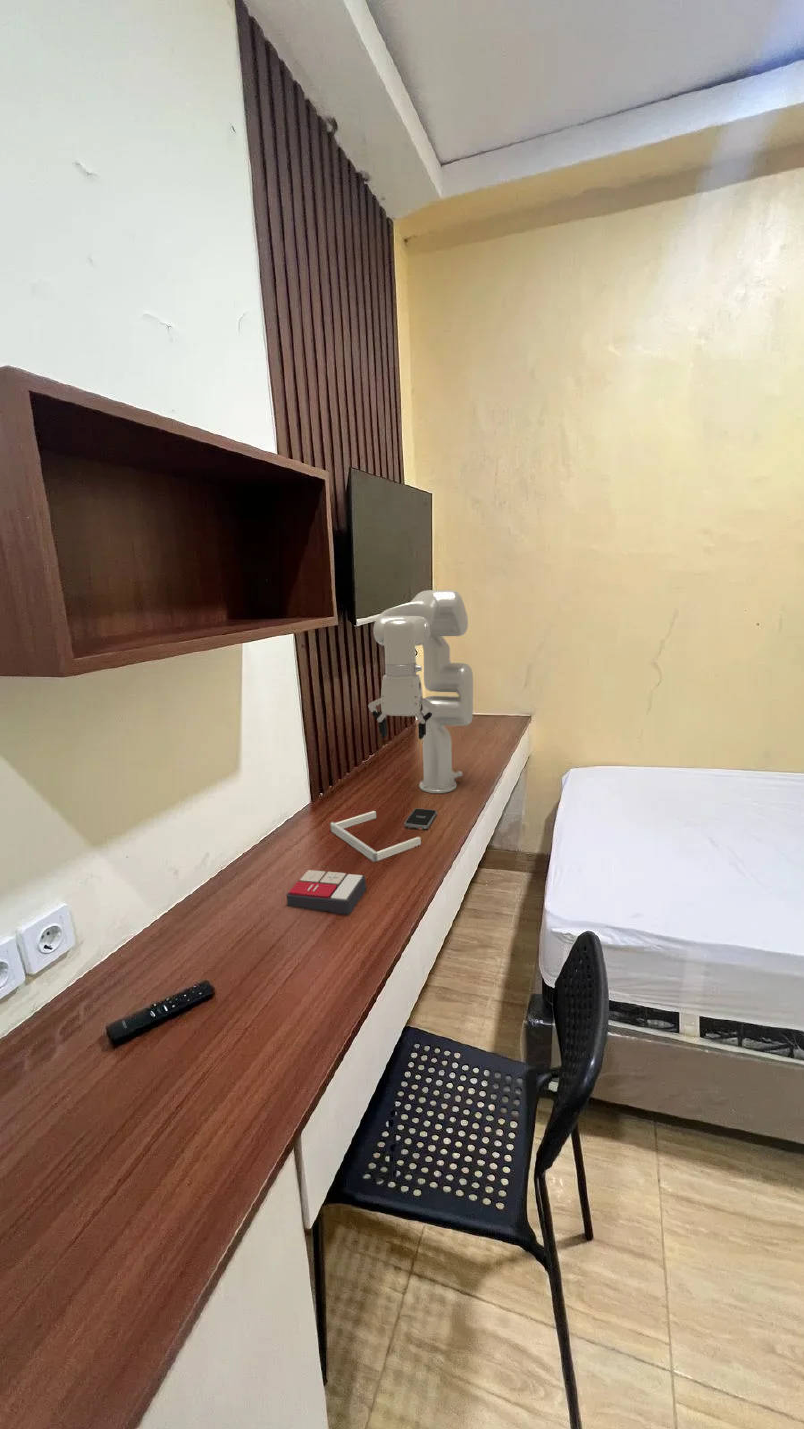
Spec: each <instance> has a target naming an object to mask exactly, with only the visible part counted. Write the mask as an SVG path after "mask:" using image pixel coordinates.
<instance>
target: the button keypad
mask: <svg viewBox="0 0 804 1429" xmlns="http://www.w3.org/2000/svg"><path fill="white" fill-rule="evenodd" d="M366 890H367V882H366V877H365V875H363V874H362V875H361V874H351V873H348V874H347V873H346V872H335V871H327V872H326V871H324V870H313V869H308V870H307V871H306V872H305V873H304V874H303V876H301V878H299V880H298V881H297V882H296V883H295V884H294V886H292V888H291V889H290V890H289V891H288V892H287V894H286V902H287V906H290V907H293V908H294V907H295V908H300V909H301V908H302V909H307V910H312V911H313V910H315V911H323V912H330V913H331V914H332V913H333V914H340V915H344V916H349V915H351V913H352V911H353V910H354V909H355V907H356V906H357V904H358V902H359V901H360V900H361V898H362V896H363V895H364V893H365V892H366Z"/></svg>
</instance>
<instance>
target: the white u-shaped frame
mask: <svg viewBox="0 0 804 1429" xmlns="http://www.w3.org/2000/svg"><path fill="white" fill-rule="evenodd" d="M374 819H377V811H376V810H372V811H369V812H366V813H363V814H359V815H357V816H353V817H350V818H347V819H343V820H340V821H337V822H334V821H332V822H330V824H329V825H330V831H331V833H332V834H335V836H337V837H338V838H340V839H341V840H342V841H344V842H346V843H347V844H348V845H349V846H351V847H352V848H354V849H355V850H357V851H358V852H360V853H361V854H362V855H364V856H365V857H366V858H368V859H369V860H370V861H372V862H374V863H376V862H378V861H381V860H384V859H386V858H390V857H391V856H394V855H398V854H400V853H402V852H405V851H408V850H410V849H413V848H415V846H416V847H418V845H419V846H421V844H422V842H421V841H422V840H421V839H422V838H421V837H420V836H416V837H414V838H410V839H408V840H405V841H403V842H400V843H396V844H394V845H392V846H389V847H387V848H383V849H381V850H379V851H376V850H375V849H373V848H372V847H370V846H369V845H367V844H366V843H365V842H363V841H361V840H360V839H358V838H357V837H355V836H354V835H352V833H350V832H349V831H348V830H346V829H347V828H349V827H353V826H356V825H359V824H362V823H365V822H368V821H371V820H374Z"/></svg>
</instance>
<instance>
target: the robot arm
mask: <svg viewBox="0 0 804 1429" xmlns="http://www.w3.org/2000/svg"><path fill="white" fill-rule="evenodd" d="M463 600H464V599H463V598H462V596H461V594H460V593H459V592H458V591H457V590H454V589H431V590H429V589H427V590H423V591H420V592H418V593H417V594H416V595H415V596H414V597H413V599H412V600H411V601H409V602H406V603H403V604H400V605H397V606H393V607H391V608H387V609H385V610H384V611H382V612H381V613H380V614H379V615H378V617H377V618H376V619H375V622H374V625H373V630H372V631H373V632H372V633H373V636H374V640H375V641H376V643H378V644H379V645H381V646H383V647H384V667H385V668H384V669H385V674H383V676H382V681H381V682H382V683H381V689H380V697H379V698H378V699H375V700H374V701H371V702H370V703H369V704H368V705H367V706H368V709H369V711H370V712H371V715H372V716H373V717H374V718H375V719H376V720H377V722H378V726H379V728H378V729H379V734H381V738H383V739H384V738H386V737H387V735H388V721H387V719H386V717H387V716H390V717H391V716H392V717H394V716H395V717H415V718H416V719H417V720H418V721H419V723H418V726H417V728H418V739H419V740H422V760H423V761H422V762H423V780H421V781H420V782H419V783H418V784H419V789H420V790H421V791H423V792H426V793H428V794H445V793H450V792H453V791H454V790H455V789H456V788H457V782H456V781H455V780H456V779H457V778H460V777H463V772H462V771H461V770H459V771H456V772H455V771H454V770H453V769H452V767H453V766H452V737H451V736H452V735H451V733H450V731H449V730H448V729H447V727H446V726H454V727H455V726H457V727H458V726H459V727H462V726H469V725H470V724H471V722H472V720H473V715H474V677H473V676H474V675H473V670H472V668H471V666H470V665H469V664H468V663H463V662H451V659H450V658H451V654H450V653H451V647H450V645H449V643H448V641H446V639H445V637H461V636H464V635H465V634H466V632H467V630H468V627H469V626H468V625H469V618H468V613H467V611H466V607H465V603H464V601H463ZM417 646H422V649H423V668H422V665H419V664H417V661H416V660H417V659H416V658H417V657H416V655H417V654H416V647H417ZM422 670H423V684H424V687H425V689H426V691H430V692H434V693H435V692H436V693H456V694H457V695H458V696H455V695H453V696H448V695H430V696H426V697H423V686H422V680H421V676H420V674H418V673H417V672H422ZM379 705H380V711H381V712H380V711H379V710H378V709H377V708H376V707H377V706H379Z"/></svg>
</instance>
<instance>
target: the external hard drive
mask: <svg viewBox="0 0 804 1429" xmlns="http://www.w3.org/2000/svg"><path fill="white" fill-rule="evenodd" d="M437 813H438V811H437V810H436V809H435V810H434V809H425V808H414V809H413V811H412V812H411V813H410V814H409V816H408V817H407V819H406V820H405V821H404V828H405V829H408V828H410V829H409V830H416V829H418V828H422V830H421V831H425V830H427V831H428V830H429V829H430V827H431V825H432V824H433V822H434V821H435V819H436V817H437V816H438V814H437ZM428 828H429V829H428Z"/></svg>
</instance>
